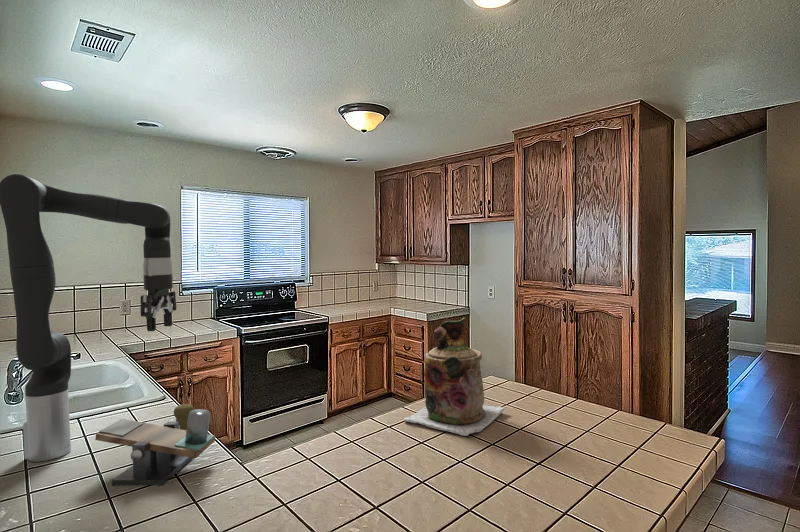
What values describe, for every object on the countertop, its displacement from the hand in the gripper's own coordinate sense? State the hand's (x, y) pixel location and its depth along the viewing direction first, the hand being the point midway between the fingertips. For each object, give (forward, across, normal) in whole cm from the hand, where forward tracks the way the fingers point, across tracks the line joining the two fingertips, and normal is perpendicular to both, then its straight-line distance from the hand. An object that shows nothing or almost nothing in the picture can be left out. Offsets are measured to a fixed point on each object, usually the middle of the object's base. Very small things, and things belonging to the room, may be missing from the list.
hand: (160, 328), depth 135 cm
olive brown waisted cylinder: (+32, +5, +9) cm, 34 cm away
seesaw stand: (+32, +20, +10) cm, 39 cm away
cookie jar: (+32, -14, +87) cm, 93 cm away
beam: (+25, +20, +10) cm, 34 cm away
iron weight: (+25, +20, +20) cm, 38 cm away
